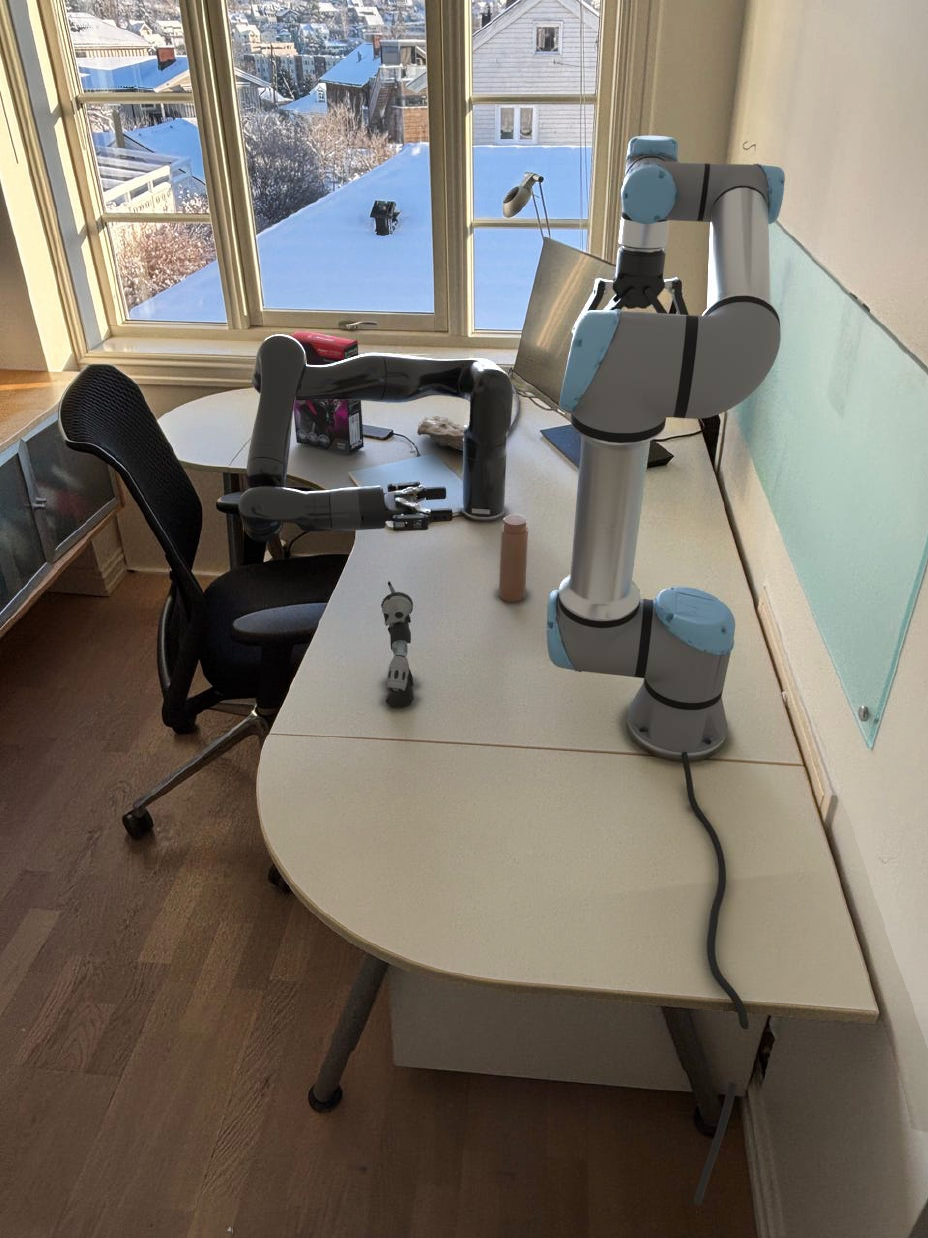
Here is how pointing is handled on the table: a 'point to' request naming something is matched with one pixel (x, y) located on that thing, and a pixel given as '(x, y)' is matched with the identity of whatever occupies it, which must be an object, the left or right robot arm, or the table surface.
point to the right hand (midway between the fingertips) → (627, 378)
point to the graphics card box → (328, 400)
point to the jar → (513, 558)
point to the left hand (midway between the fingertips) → (449, 503)
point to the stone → (442, 431)
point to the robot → (398, 647)
